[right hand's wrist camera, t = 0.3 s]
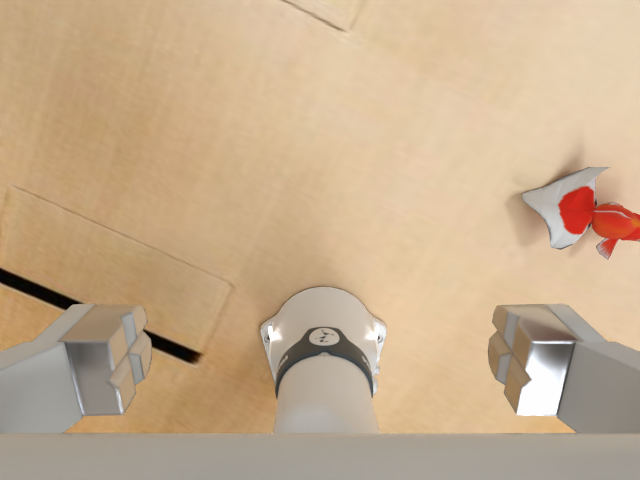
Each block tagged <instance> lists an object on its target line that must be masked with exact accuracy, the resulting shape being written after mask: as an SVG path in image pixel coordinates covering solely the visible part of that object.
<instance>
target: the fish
mask: <svg viewBox="0 0 640 480" xmlns="http://www.w3.org/2000/svg"><path fill="white" fill-rule="evenodd" d="M608 168H610V167H588V168H585V169H583V170H580V171H577V172H574V173H572V174H569V175H567V176H565V177H563V178H561V179H559V180H557V181H555V182H553V183H551V184H549V185H547V186H545V187H542V188H538V189H534V190H531V191H528V192H525V193H523V194H521V195H522V200H523V201H524V202H525V203H526V204H528V205H529V206H530V207H531V208H532V209H534V210H535V211H536V212H537V213H538V214H540V215H541V216H542V217H543V219H544V221H545V222H546V224H547V227H548V230H549V234H550V244H551V247H552V248H556V249H563V248H565V247H568V246H570V245H572V244H573V243H575V242H576V241H577V240H578V239H579V238H580V237H581V236H582V235H583V234H584V233H585V231H586V230H587V229H588V228H589V227H590V226H592V228H593V230H594V231H595V232H596V233H597V234H598V235H599V236H601V237H604V238H606V239H604V240H603V241H601V242H600V243H599V244H598V245H597V246H596V248H597V250H598V252H599V253H600V254H601V255H602V256H603V257H605V258H606V259H609V257H610V255H611V253H612V251H613V249H614V247H615V245H616V243H617V241H618V239H621V240H632V241H640V215H638V214H636V213H632V212H631V211H629V210H627V209H625V208H623V206H621V205H619V204H617V203H614V202H612V203H609V204H604V205H600V206H598V207H597V208H596V205H597V202H596V196H595V178H596V177H597V176H598V175H599V174H600V173H601V172H603V171H604V170H606V169H608Z"/></svg>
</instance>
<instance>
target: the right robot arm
mask: <svg viewBox="0 0 640 480" xmlns="http://www.w3.org/2000/svg"><path fill="white" fill-rule="evenodd" d="M147 323H148V320H147V315H146V310H145V309H144V307H143V306H142V305H116V304H76V305H72V306H71V307H69V308H68V309H67V310H66V311H65V312H64V313H63V314H62V315H61V316H60V317H59V318H57V319H56V320H55V321H54V322H53V323H52V324H51V325H50V326H49V327H48V328H46V329H45V330H44V331H43V332H42V333H41V334H40V335H39V336H38V337H37V338H35V339H34V340H33V341H32V342H23V343H21V344H18V345H16V346H13V347H11V348H8V349H6V350H3V351H1V352H0V480H640V352H639V351H637V350H634V349H632V348H629V347H627V346H624V345H622V344H619V343H617V342H608V341H607V340H606V339H605V338H603V337H602V336H601V335H600V334H599V333H598V332H597V331H596V330H595V329H594V328H593V327H591V326H590V325H589V324H588V323H587V322H586V321H585V320H584V319H583V318H582V317H581V316H579V315H578V314H577V313H576V312H575V311H574V310H573V309H572V308H571V307H570V306H568V305H565V304H528V305H500V306H497V307H496V309H495V311H494V314H493V320H492V323H493V324H494V326H495V327H496V329H497V331H496V333H495V334H494V335H493V336H492V337H491V338H490V339H489V346H488V358H489V365H490V368H491V371H492V373H493V375H494V377H495V379H496V380H498V381H499V382H501V383H502V384H504V385H505V389H504V394H505V396H506V398H507V399H508V401H509V403H510V404H511V406H512V408H513V409H514V411H515V413H516V415H538V416H557V418H558V419H560V420H561V421H562V422H564V423H565V424H566V425H568V426H569V427H570V428H572V429H573V430H574V431H576V432H577V433H381V431H380V428H379V425H378V422H377V418H376V415H375V411H374V407H373V402H372V397H373V395H374V394H376V391H377V379H376V378H374V374H375V375H378V374H379V365H377V364H378V361H379V359H380V354H381V350H382V347H383V344H384V340H385V337H386V333H387V329H386V325H385V324H384V323H383V322H382V321H380V320H379V319H377V318H375V317H374V316H372V315H371V314H370V313H369V312H368V310H367V309H366V308H365V306H364V305H363V304H362V303H361V302H360V301H359V300H358V299H357V298H356V297H355V296H353V295H352V294H350V293H348V292H346V291H344V290H341V289H337V288H332V287H315V288H310V289H307V290H304V291H301V292H299V293H297V294H296V295H294V296H293V297H291V298H290V299H289V300H288V301H287V302H286V303H285V304H284V305H283V306H282V308H281V309H280V311H279V312H278V313H277V314H276V315H275V316H274V317H272V318H270V319H269V320H267V321H265V322H264V323H263V324H262V325H261V329H260V333H261V337H262V340H263V344H264V347H265V351H266V354H267V358H268V361H269V364H270V368H271V371H272V375H273V378H274V382H275V385H276V386H275V393H276V398H277V406H276V414H275V422H274V430H273V433H63V432H65V431H66V430H67V429H69V428H70V427H71V426H73V425H74V424H75V423H77V422H78V421H79V420H81V419H82V418H83V417H82V416H101V415H124V413H125V411H126V410H127V408H128V406H129V404H130V403H131V401H132V399H133V398H134V396H135V394H136V389H135V385H136V384H138V383H139V382H141V381H142V380H144V379H145V377H146V375H147V373H148V371H149V368H150V364H151V360H152V345H151V339H150V338H149V337H148V336H147V335H146V334H145V333H144V331H143V329H144V327H145V326H146V324H147ZM268 336H270V338H269V337H268ZM377 336H379V337H377Z"/></svg>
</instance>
